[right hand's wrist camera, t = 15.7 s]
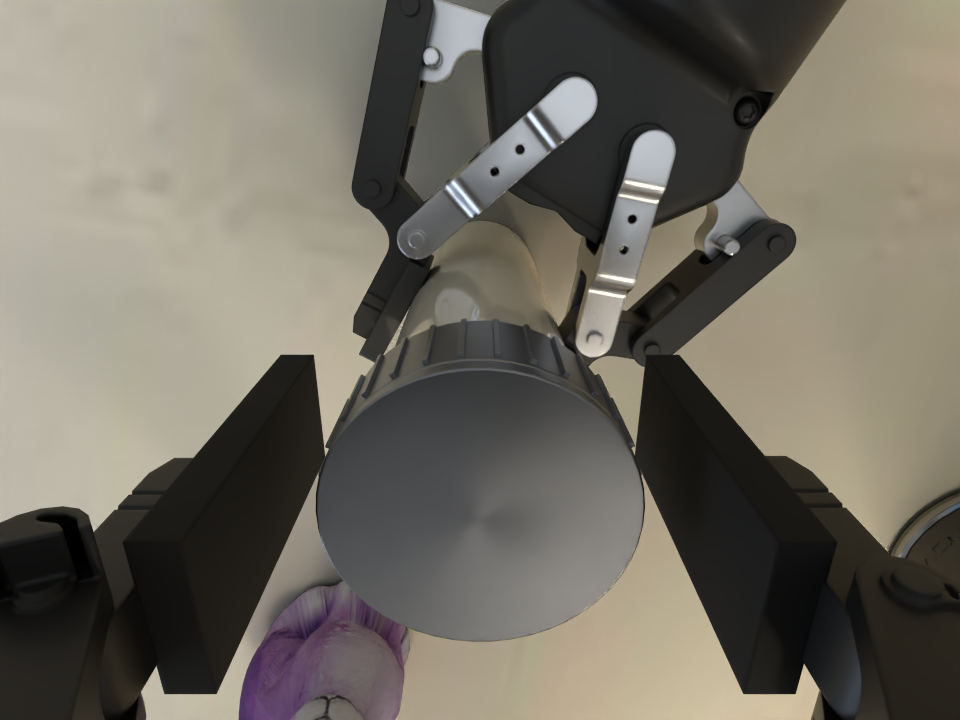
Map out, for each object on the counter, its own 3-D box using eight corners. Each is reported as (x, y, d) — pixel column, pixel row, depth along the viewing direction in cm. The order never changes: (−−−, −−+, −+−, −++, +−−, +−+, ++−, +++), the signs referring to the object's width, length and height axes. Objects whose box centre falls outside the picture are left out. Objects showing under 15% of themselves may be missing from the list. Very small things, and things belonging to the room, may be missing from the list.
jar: (420, 224, 25) (329, 384, 10) (533, 216, 25) (615, 367, 10) (431, 330, 27) (367, 604, 12) (536, 324, 27) (609, 592, 12)
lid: (472, 599, 14) (470, 691, 12) (283, 438, 12) (240, 509, 10) (674, 455, 12) (717, 529, 10) (490, 253, 11) (493, 287, 9)
